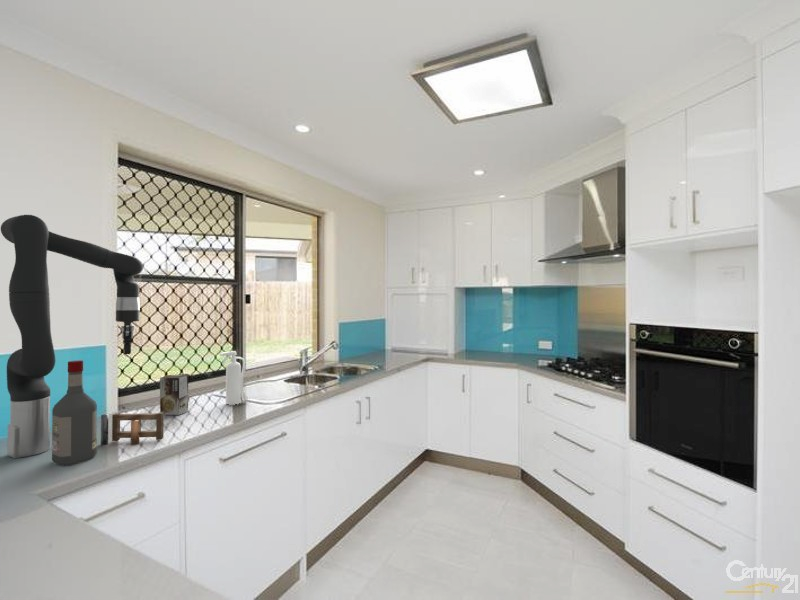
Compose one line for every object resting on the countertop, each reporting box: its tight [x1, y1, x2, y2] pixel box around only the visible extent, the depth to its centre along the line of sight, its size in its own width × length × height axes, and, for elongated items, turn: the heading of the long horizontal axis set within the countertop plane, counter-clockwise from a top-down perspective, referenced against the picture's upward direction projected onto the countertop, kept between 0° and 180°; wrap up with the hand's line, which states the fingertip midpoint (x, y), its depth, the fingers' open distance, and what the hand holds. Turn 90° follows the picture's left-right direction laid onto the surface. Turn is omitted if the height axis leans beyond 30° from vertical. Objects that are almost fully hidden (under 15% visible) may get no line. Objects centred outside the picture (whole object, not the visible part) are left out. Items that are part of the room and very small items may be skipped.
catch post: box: [130, 419, 140, 446], centre depth 130 cm, size 2×2×8 cm
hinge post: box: [100, 413, 109, 446], centre depth 130 cm, size 2×2×10 cm
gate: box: [111, 411, 165, 442], centre depth 133 cm, size 16×2×9 cm, turn 96°
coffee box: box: [159, 374, 189, 416], centre depth 167 cm, size 9×6×16 cm
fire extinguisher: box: [219, 350, 250, 406], centre depth 183 cm, size 7×12×25 cm, turn 108°
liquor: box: [51, 360, 98, 467], centre depth 117 cm, size 9×9×30 cm
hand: (127, 354), depth 148 cm, fingers closed
